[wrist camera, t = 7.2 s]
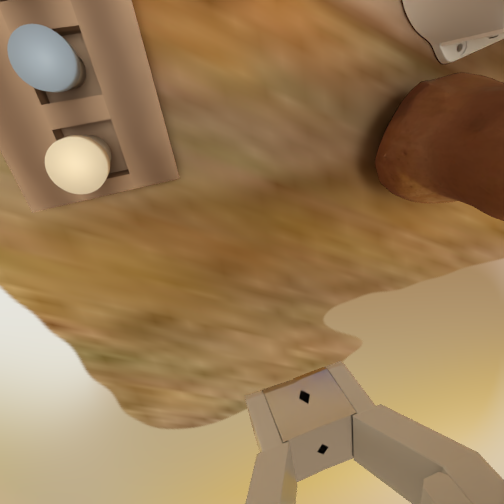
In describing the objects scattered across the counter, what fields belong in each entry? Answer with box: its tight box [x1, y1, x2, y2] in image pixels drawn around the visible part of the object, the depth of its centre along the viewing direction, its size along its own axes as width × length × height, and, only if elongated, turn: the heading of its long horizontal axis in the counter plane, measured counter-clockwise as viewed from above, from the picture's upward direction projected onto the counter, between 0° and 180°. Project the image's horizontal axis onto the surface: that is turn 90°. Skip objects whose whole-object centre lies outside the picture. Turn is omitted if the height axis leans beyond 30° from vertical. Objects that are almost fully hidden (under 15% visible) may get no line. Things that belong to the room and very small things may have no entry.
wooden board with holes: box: [0, 0, 180, 212], centre depth 28 cm, size 14×22×4 cm, turn 10°
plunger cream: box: [45, 135, 112, 194], centre depth 26 cm, size 4×4×7 cm
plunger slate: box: [7, 24, 86, 92], centre depth 25 cm, size 4×4×7 cm
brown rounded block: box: [375, 73, 504, 221], centre depth 31 cm, size 14×13×25 cm
